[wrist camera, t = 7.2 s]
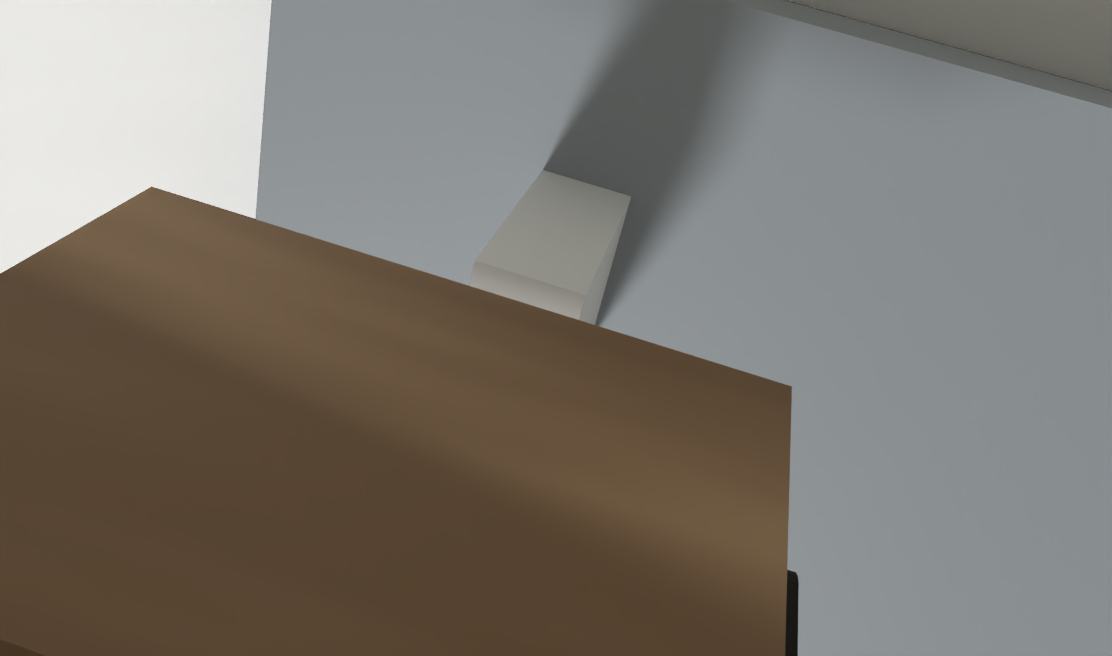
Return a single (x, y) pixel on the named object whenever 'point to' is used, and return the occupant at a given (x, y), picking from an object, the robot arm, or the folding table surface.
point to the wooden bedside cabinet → (363, 461)
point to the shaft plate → (768, 262)
